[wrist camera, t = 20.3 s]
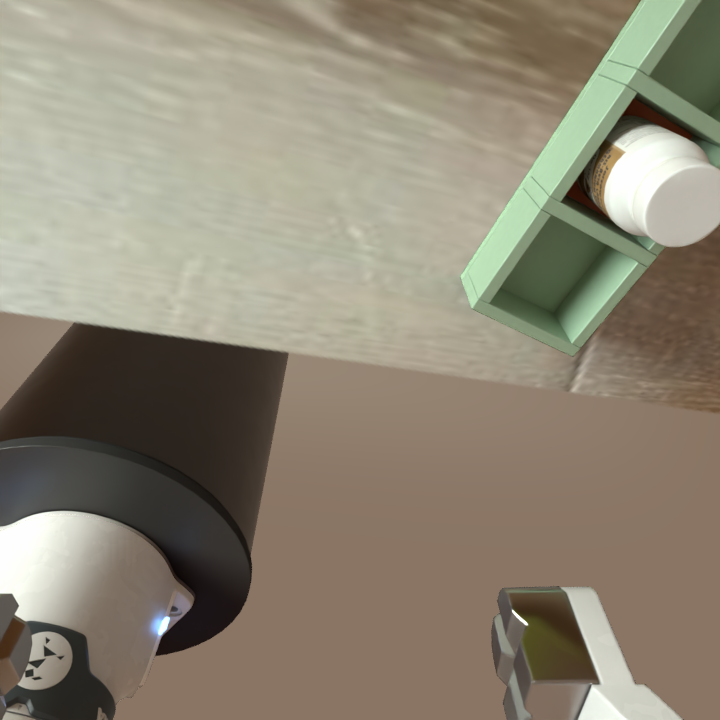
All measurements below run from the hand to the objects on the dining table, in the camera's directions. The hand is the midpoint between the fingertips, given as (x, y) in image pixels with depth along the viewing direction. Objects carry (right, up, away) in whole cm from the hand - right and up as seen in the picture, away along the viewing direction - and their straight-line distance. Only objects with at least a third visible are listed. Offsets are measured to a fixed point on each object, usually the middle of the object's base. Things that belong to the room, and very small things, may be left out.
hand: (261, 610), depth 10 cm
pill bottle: (+15, +15, +20) cm, 29 cm away
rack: (+15, +15, +21) cm, 30 cm away
